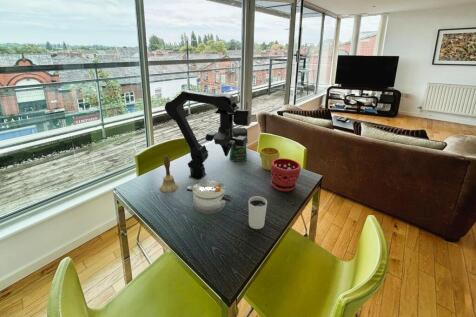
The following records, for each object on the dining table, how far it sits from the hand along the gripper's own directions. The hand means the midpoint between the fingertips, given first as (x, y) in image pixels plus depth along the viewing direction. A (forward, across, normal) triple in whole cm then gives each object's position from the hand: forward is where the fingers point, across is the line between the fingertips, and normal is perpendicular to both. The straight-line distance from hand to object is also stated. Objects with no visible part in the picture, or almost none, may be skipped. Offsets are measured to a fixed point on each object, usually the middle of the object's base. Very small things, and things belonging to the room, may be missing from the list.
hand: (226, 155), depth 119 cm
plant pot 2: (+13, +27, +6) cm, 31 cm away
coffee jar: (+13, -4, +25) cm, 29 cm away
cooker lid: (+6, +2, -21) cm, 22 cm away
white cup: (+13, +24, -25) cm, 37 cm away
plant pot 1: (+13, +15, +22) cm, 30 cm away
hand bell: (+13, -21, -17) cm, 30 cm away
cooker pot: (+13, +2, -21) cm, 25 cm away
